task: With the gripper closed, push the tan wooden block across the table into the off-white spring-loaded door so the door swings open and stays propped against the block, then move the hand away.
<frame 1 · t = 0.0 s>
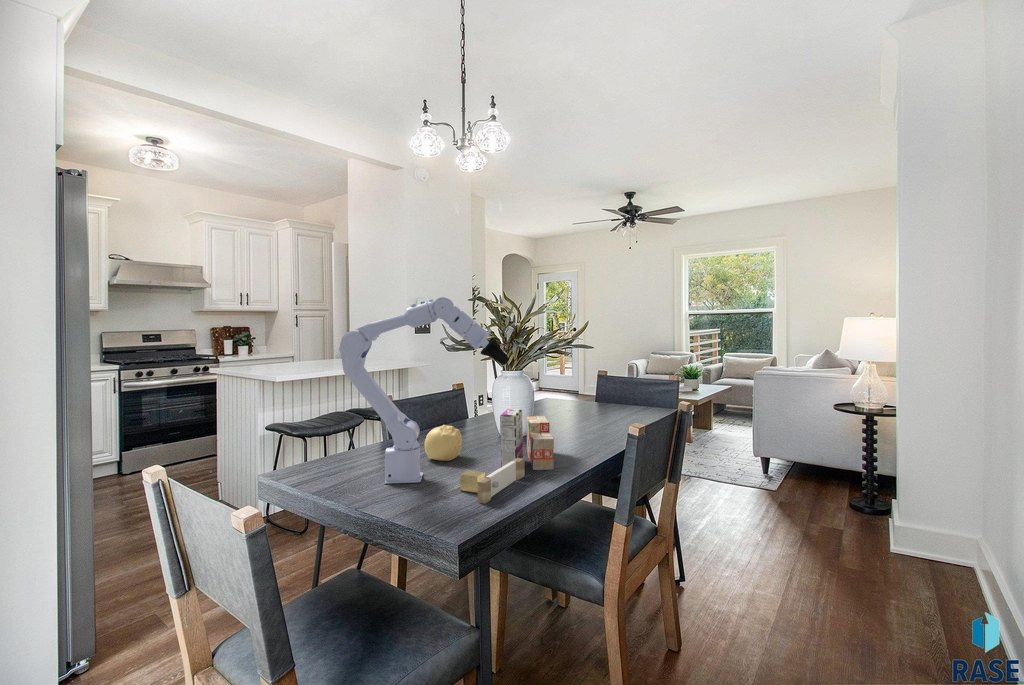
hand: (506, 361, 136), 32 cm above the table, tool tilted 50°, fingers open, 7 cm apart
stack of blocks: (539, 461, 153), on the table
candy bar box: (512, 466, 147), on the table
tan wooden block: (472, 490, 125), on the table
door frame: (514, 480, 133), on the table
door: (503, 478, 125), point 3 cm above the table, hinge at 0.0°
yellow round lump: (443, 459, 155), on the table
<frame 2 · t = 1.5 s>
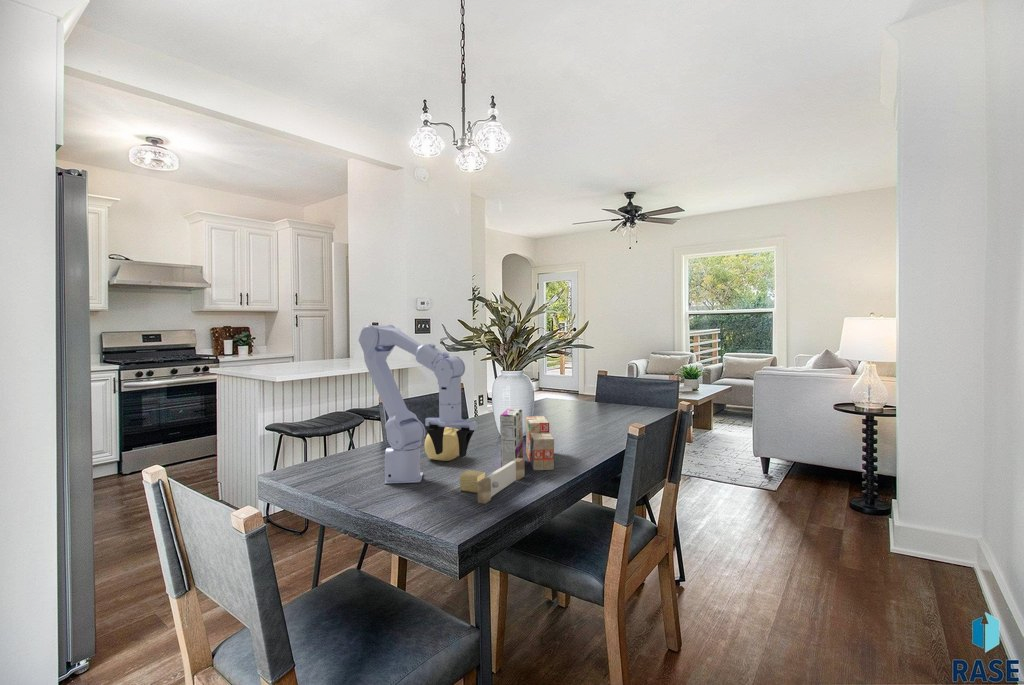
hand: (450, 454, 127), 8 cm above the table, tool pointing down, fingers open, 7 cm apart
nothing on the table moved.
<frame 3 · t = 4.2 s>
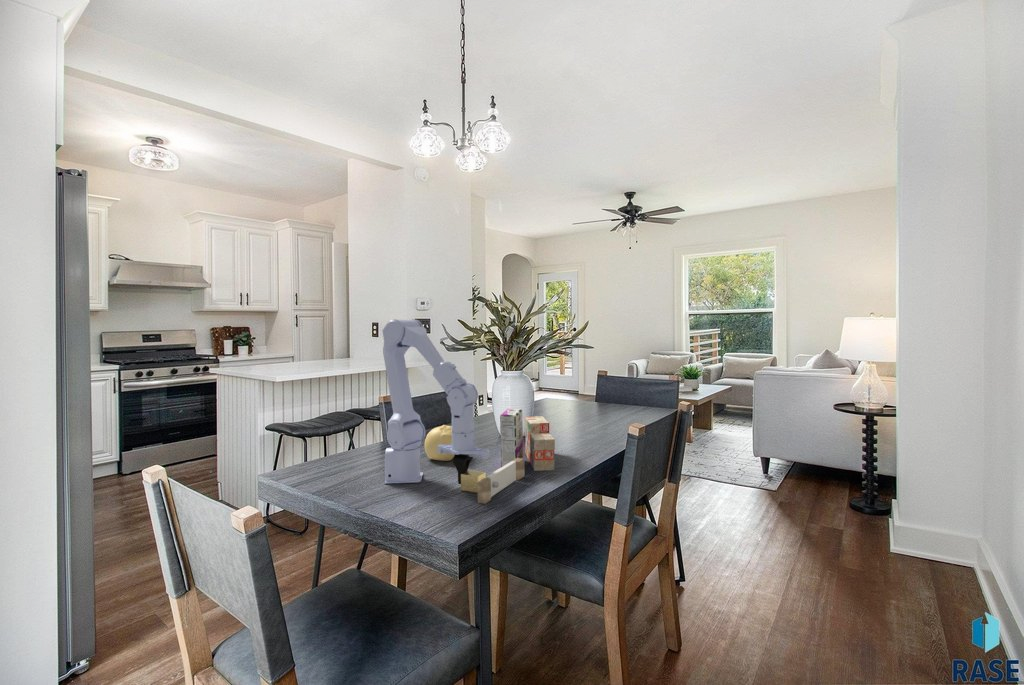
hand: (463, 483, 126), 1 cm above the table, tool pointing down, fingers closed, pressing on tan wooden block
tan wooden block: (473, 490, 125), on the table, touching gripper
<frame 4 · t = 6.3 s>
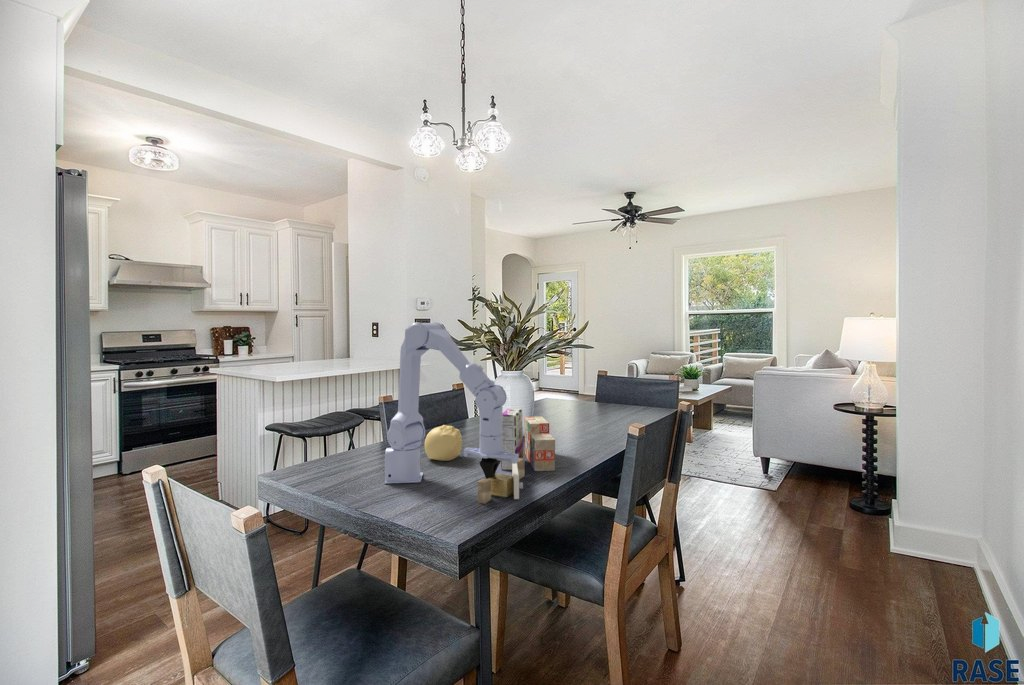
hand: (490, 487, 123), 1 cm above the table, tool pointing down, fingers closed, pressing on tan wooden block
tan wooden block: (501, 494, 122), on the table, touching door, gripper
door: (517, 479, 125), point 3 cm above the table, hinge at 26.8°, touching tan wooden block
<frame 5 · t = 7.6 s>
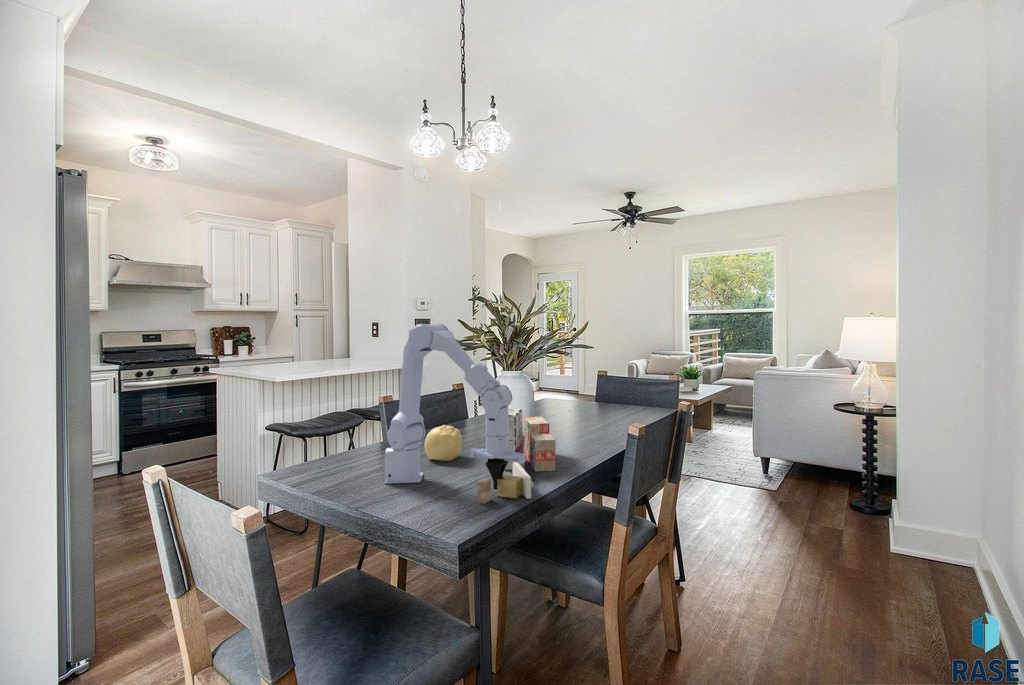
hand: (497, 488, 122), 1 cm above the table, tool pointing down, fingers closed
tan wooden block: (510, 496, 121), on the table, touching door, gripper
door: (523, 478, 125), point 3 cm above the table, hinge at 37.7°, touching tan wooden block
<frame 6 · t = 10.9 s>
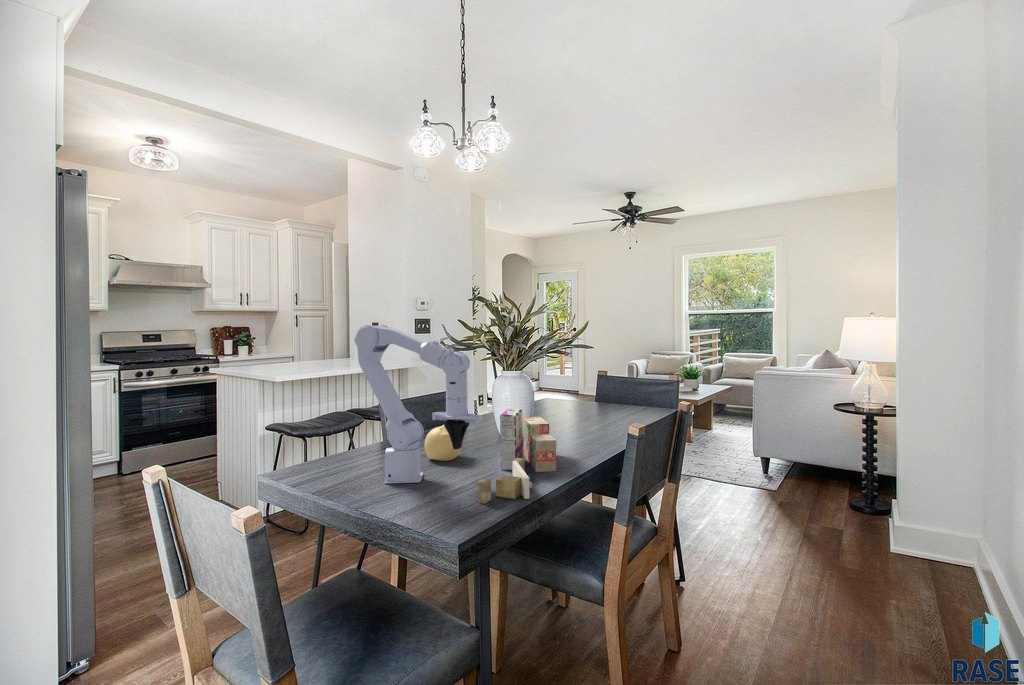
hand: (457, 448, 130), 9 cm above the table, tool pointing down, fingers closed
tan wooden block: (508, 496, 120), on the table, touching door
door: (522, 478, 125), point 3 cm above the table, hinge at 36.1°, touching tan wooden block
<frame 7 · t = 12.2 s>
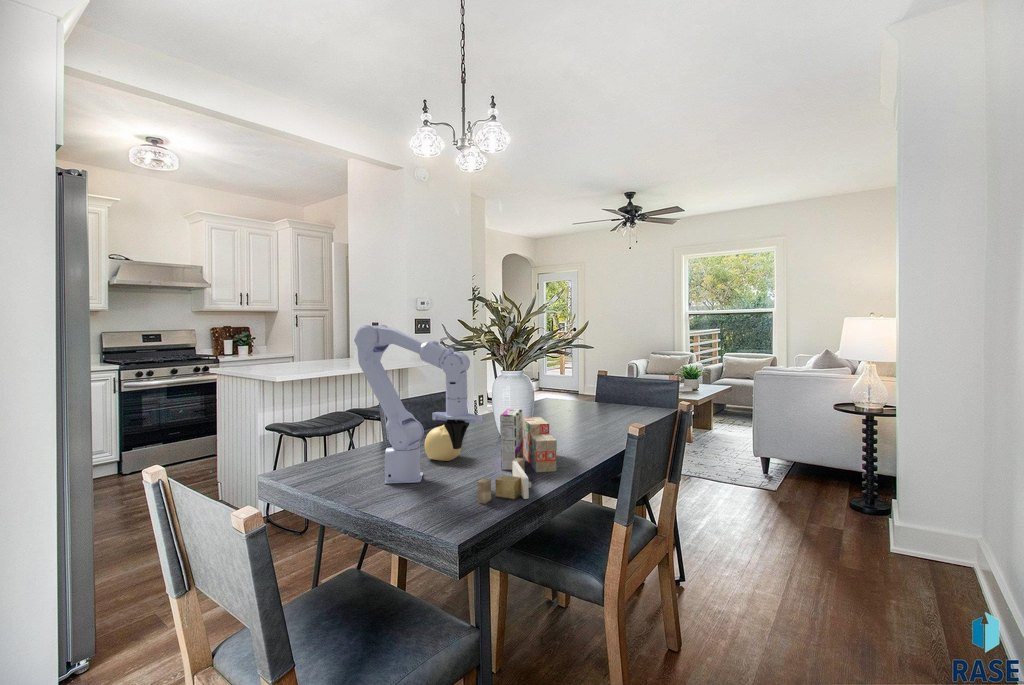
hand: (457, 448, 130), 9 cm above the table, tool pointing down, fingers closed
door: (521, 478, 125), point 3 cm above the table, hinge at 35.2°, touching tan wooden block
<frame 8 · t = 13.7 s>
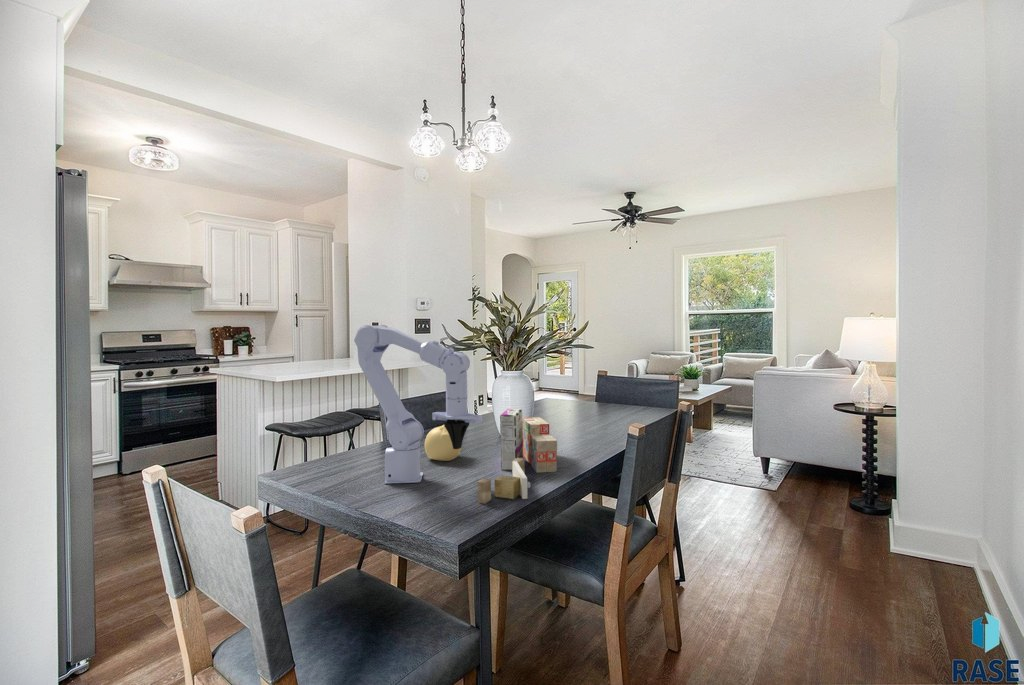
hand: (457, 448, 130), 9 cm above the table, tool pointing down, fingers closed
door: (521, 478, 125), point 3 cm above the table, hinge at 34.2°, touching tan wooden block
at the end: door at +34° (first picture: +0°); tan wooden block touching door, table; tan wooden block tilted 0° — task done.
